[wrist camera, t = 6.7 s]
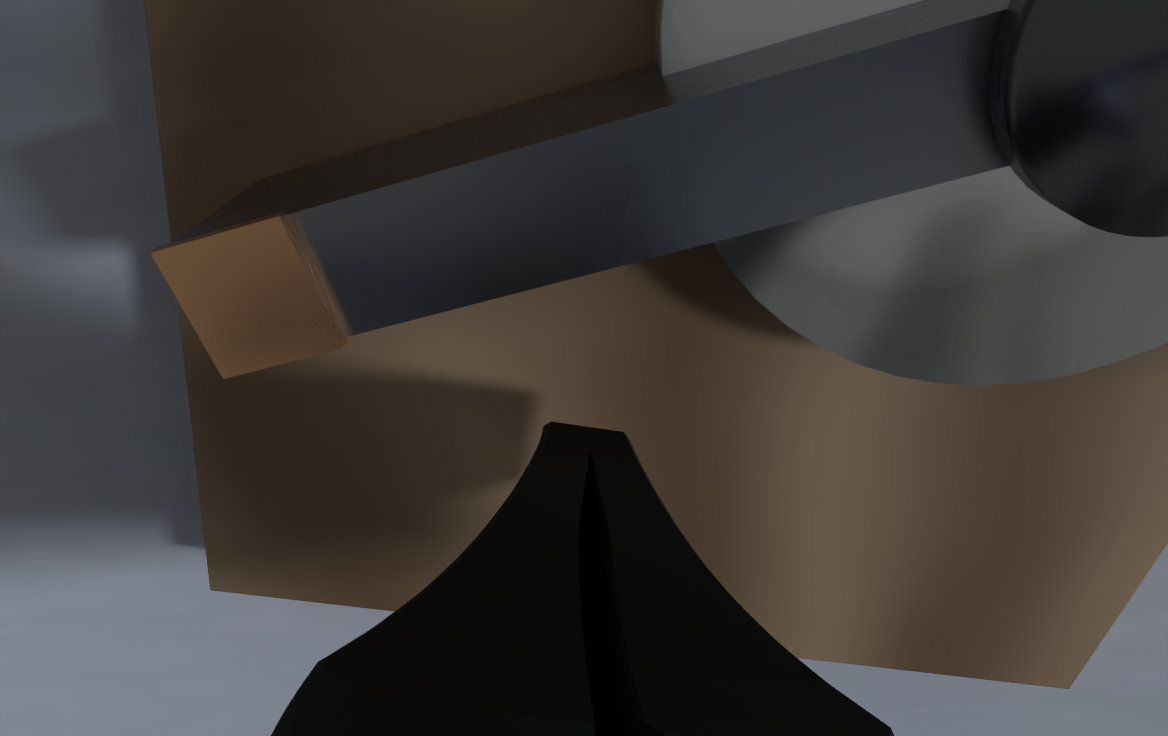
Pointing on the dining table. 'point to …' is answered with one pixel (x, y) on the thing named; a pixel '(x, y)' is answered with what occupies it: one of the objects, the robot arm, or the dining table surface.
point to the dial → (759, 191)
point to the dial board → (629, 384)
